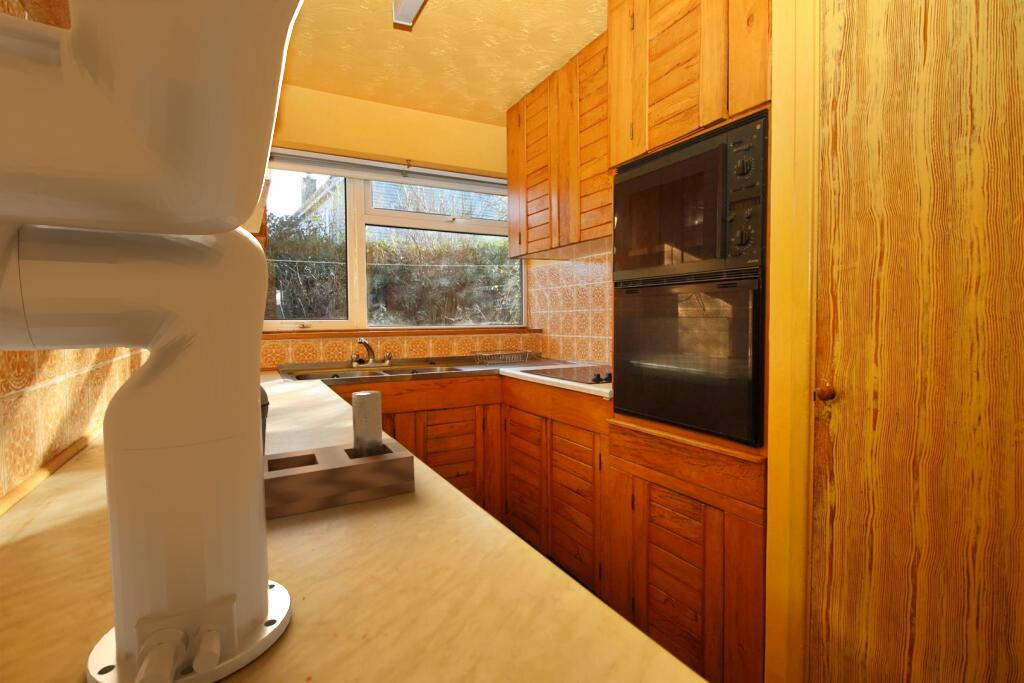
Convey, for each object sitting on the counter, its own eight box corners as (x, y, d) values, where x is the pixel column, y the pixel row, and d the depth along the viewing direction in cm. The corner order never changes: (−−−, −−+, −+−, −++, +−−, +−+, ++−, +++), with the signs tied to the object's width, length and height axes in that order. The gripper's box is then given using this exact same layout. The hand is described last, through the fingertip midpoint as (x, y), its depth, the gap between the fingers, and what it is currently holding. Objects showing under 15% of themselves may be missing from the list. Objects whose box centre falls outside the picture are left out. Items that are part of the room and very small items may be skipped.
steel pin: (386, 476, 67) (383, 393, 67) (357, 481, 66) (354, 396, 65) (379, 468, 71) (377, 390, 70) (352, 473, 69) (349, 392, 68)
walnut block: (393, 468, 76) (392, 437, 76) (414, 490, 65) (413, 455, 65) (253, 491, 67) (251, 457, 66) (251, 522, 56) (249, 481, 56)
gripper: (249, 134, 58) (256, 272, 59) (65, 107, 50) (74, 267, 51) (248, 109, 52) (255, 265, 52) (34, 73, 44) (46, 258, 44)
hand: (166, 266), depth 52 cm, fingers open, 9 cm apart
